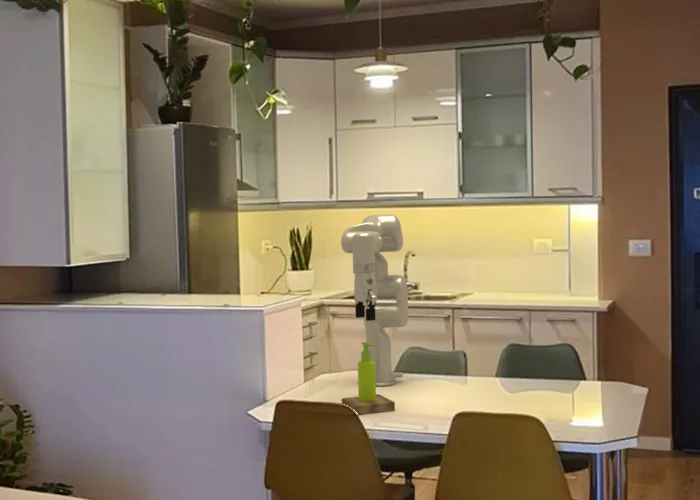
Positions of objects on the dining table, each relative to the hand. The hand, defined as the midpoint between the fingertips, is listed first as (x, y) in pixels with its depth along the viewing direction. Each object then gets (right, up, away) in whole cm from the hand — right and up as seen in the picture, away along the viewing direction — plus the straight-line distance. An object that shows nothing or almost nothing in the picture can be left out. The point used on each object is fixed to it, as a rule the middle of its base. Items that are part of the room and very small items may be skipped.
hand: (365, 318), depth 307 cm
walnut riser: (+1, -31, +2) cm, 31 cm away
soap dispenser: (+1, -28, +1) cm, 28 cm away
